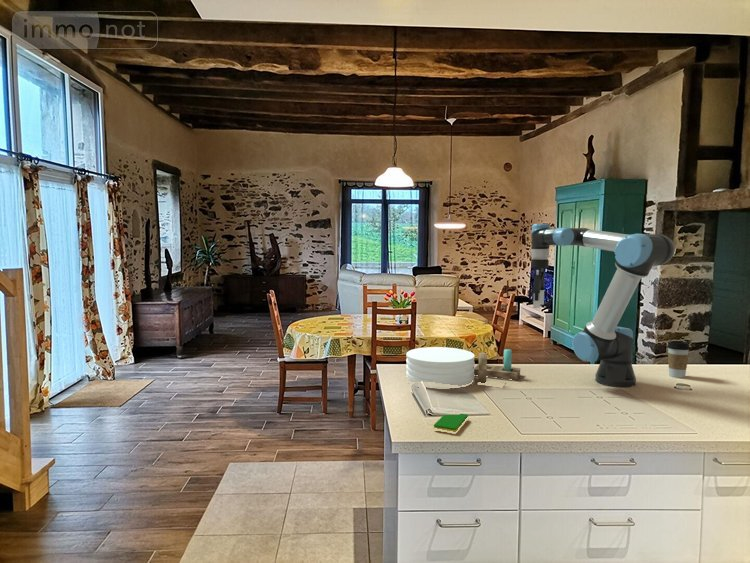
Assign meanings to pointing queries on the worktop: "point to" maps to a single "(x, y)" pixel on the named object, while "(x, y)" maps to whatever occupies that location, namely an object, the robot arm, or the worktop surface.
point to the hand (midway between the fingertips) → (538, 306)
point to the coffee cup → (677, 358)
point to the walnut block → (500, 372)
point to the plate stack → (440, 365)
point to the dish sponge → (450, 422)
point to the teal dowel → (507, 359)
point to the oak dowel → (482, 367)
